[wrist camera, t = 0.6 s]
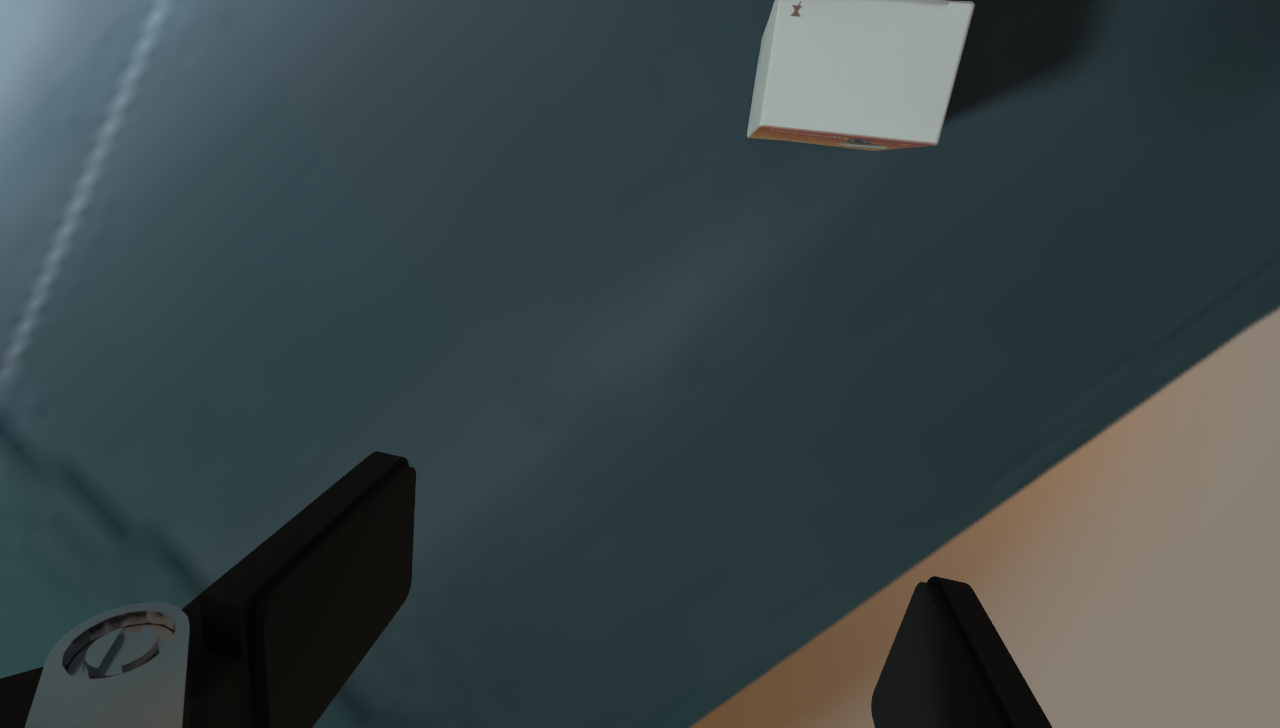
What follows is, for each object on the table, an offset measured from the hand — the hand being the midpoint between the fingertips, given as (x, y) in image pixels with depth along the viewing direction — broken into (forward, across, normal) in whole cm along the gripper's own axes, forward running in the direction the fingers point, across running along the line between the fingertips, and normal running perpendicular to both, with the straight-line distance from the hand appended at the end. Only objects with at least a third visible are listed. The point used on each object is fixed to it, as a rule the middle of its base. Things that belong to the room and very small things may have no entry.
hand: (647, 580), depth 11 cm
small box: (+30, -5, -12) cm, 33 cm away
